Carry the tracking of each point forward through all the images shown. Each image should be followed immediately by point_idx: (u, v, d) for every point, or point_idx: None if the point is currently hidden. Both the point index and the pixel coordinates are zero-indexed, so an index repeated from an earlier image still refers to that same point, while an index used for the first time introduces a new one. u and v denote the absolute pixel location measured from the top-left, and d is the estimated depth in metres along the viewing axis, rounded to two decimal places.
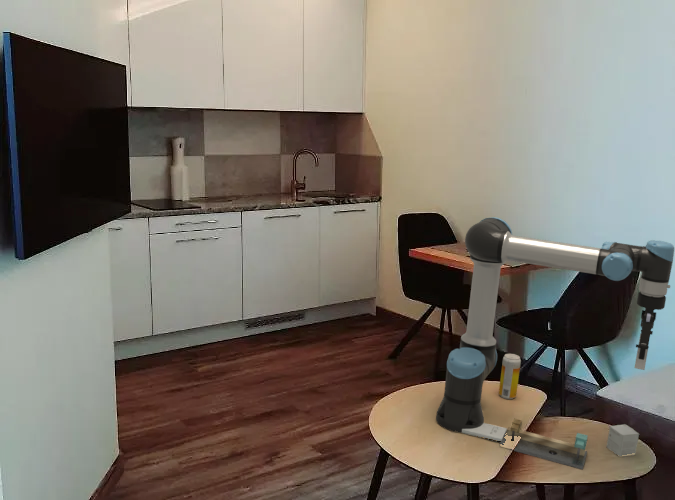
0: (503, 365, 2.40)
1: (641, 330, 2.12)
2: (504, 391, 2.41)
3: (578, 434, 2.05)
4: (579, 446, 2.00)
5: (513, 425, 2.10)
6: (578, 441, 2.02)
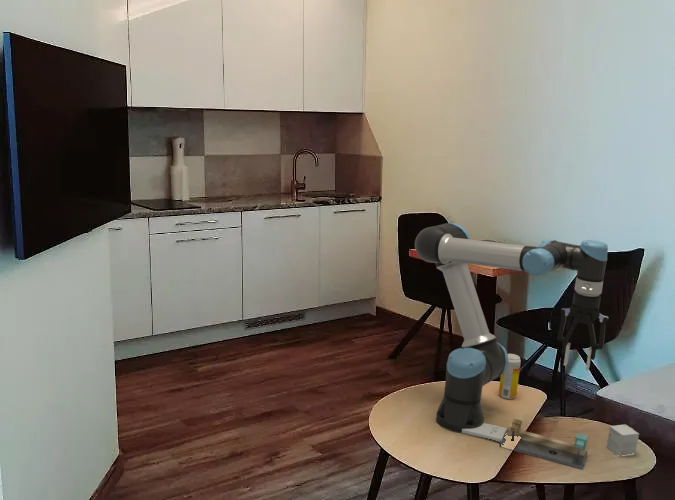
0: None
1: None
2: (504, 391, 2.41)
3: (578, 434, 2.05)
4: (579, 446, 2.00)
5: (513, 425, 2.10)
6: (578, 441, 2.02)
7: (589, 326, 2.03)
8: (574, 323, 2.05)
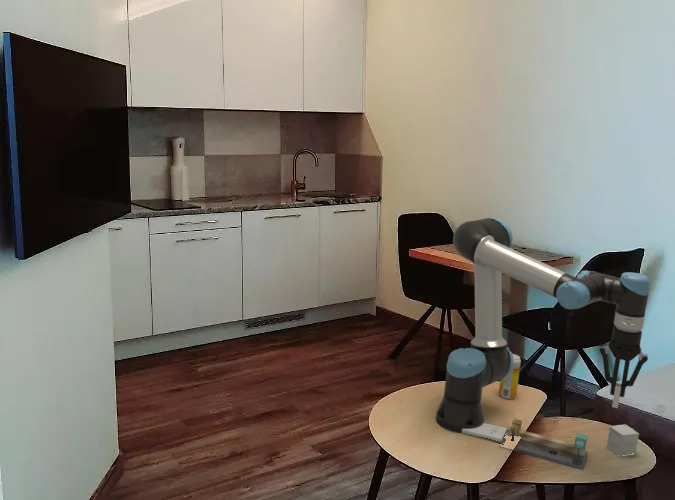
0: None
1: None
2: (504, 391, 2.41)
3: (578, 434, 2.05)
4: (579, 446, 2.00)
5: (513, 425, 2.10)
6: (578, 441, 2.02)
7: (626, 363, 1.93)
8: (617, 361, 1.94)
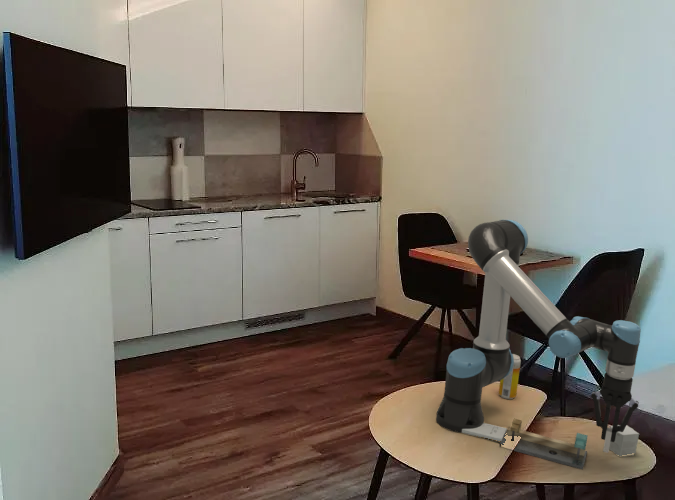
0: None
1: None
2: (504, 391, 2.41)
3: (578, 434, 2.05)
4: (579, 446, 2.00)
5: (513, 425, 2.10)
6: (578, 441, 2.02)
7: (617, 409, 1.96)
8: (608, 407, 1.97)
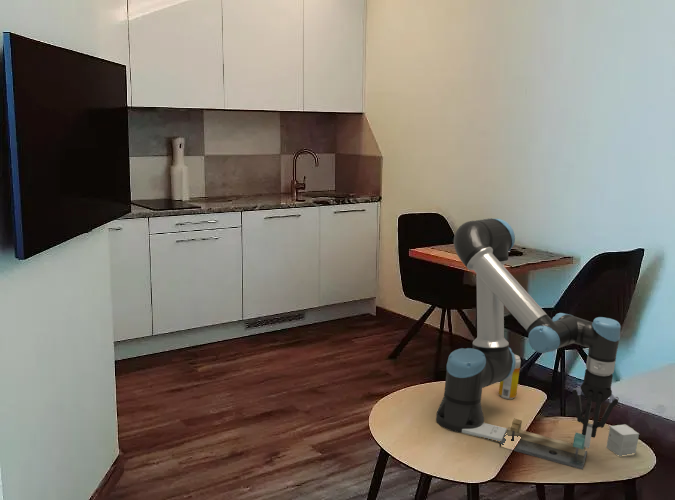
0: None
1: None
2: (504, 391, 2.41)
3: (576, 434, 2.05)
4: (577, 446, 2.01)
5: (513, 425, 2.10)
6: (576, 441, 2.02)
7: (597, 405, 1.99)
8: (588, 403, 2.00)
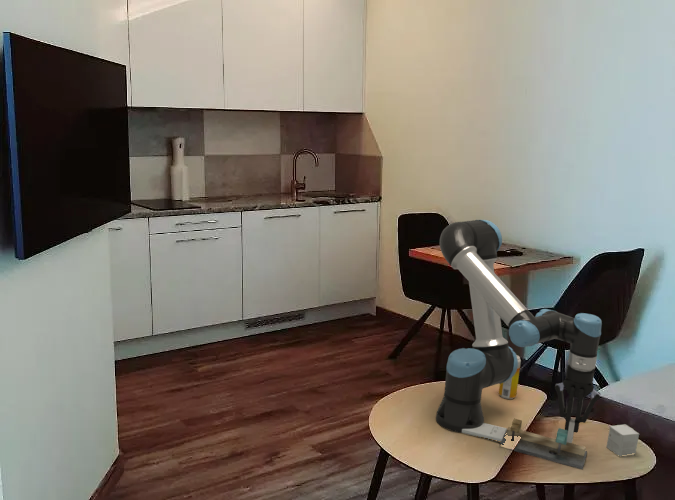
0: None
1: None
2: (504, 391, 2.41)
3: (559, 429, 2.07)
4: (560, 441, 2.03)
5: (513, 425, 2.10)
6: (559, 436, 2.04)
7: (579, 400, 2.01)
8: (570, 398, 2.02)
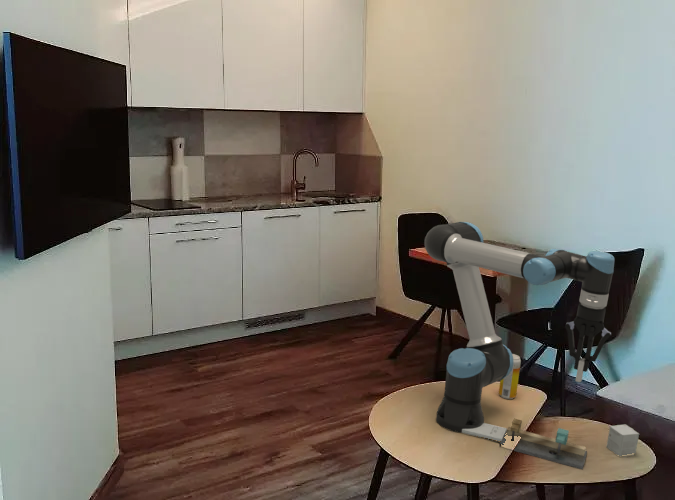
0: None
1: None
2: (504, 391, 2.41)
3: (559, 429, 2.07)
4: (560, 441, 2.03)
5: (513, 425, 2.10)
6: (559, 436, 2.04)
7: (590, 338, 2.00)
8: (581, 336, 2.01)
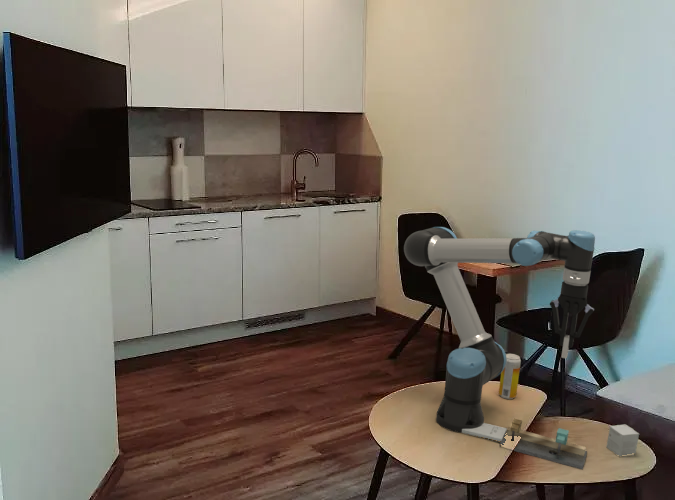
0: None
1: None
2: (504, 391, 2.41)
3: (559, 429, 2.07)
4: (560, 441, 2.03)
5: (513, 425, 2.10)
6: (559, 436, 2.04)
7: (573, 315, 2.06)
8: (565, 313, 2.07)
